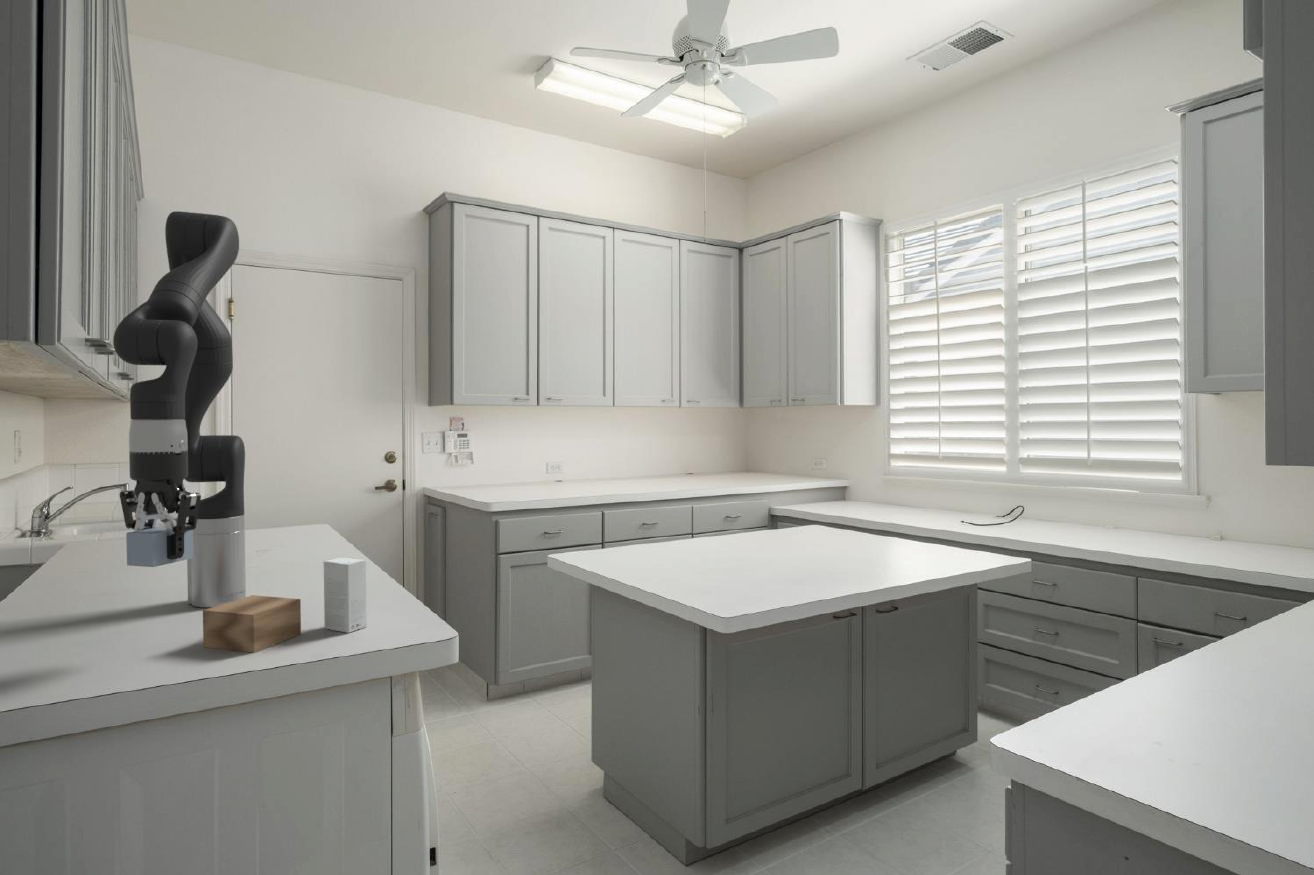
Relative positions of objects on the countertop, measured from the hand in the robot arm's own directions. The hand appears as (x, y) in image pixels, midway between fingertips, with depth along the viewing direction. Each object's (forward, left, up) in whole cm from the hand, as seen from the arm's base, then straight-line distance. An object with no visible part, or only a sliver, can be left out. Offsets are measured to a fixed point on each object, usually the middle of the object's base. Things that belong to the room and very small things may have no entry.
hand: (161, 556), depth 113 cm
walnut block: (+8, +9, -15) cm, 20 cm away
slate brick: (0, 0, -1) cm, 1 cm away
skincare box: (+18, +19, -15) cm, 31 cm away
